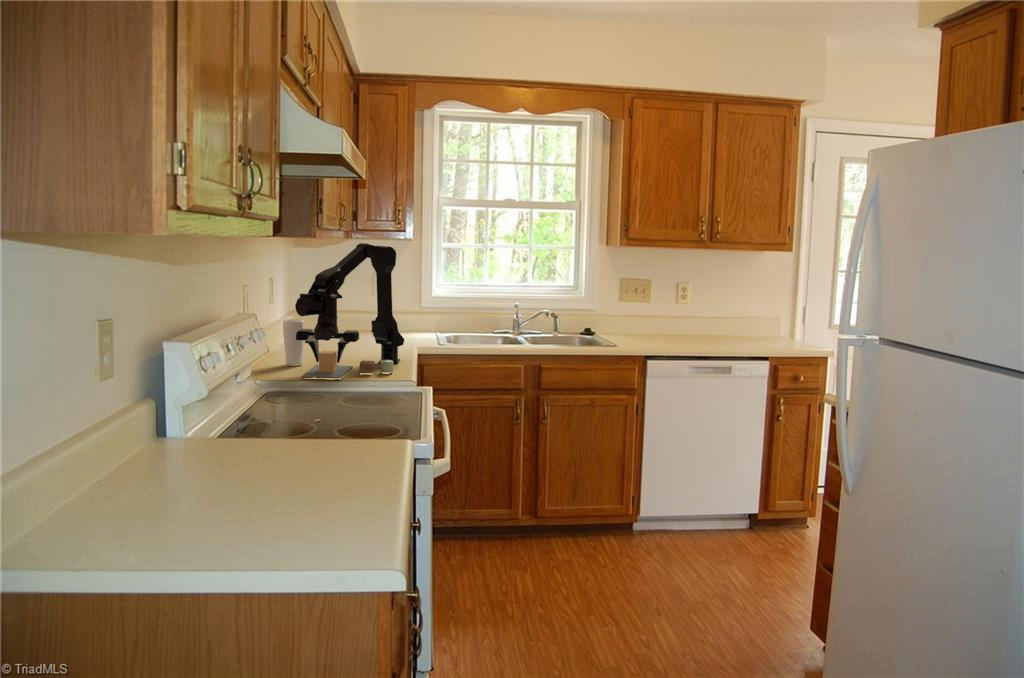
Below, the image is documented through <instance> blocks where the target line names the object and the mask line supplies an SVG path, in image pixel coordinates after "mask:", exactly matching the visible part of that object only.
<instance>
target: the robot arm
mask: <svg viewBox="0 0 1024 678" xmlns="http://www.w3.org/2000/svg"><path fill="white" fill-rule="evenodd" d="M367 258H368V259H370V261H371V262H370V263H371V266H372V267H373V270H374V271H375V274H376V275H375V277H376V304H377V305H376V306H377V314H376V315H377V316H376V317H375V319H374V320H371V323H370V324H371V333H372V336H373V337H374V341H375V344H376V345H377V344H378V345H380V347H381V349H380V360H378V364H381V361H382V360H392V361H393V365H394V364H395V365H397V364H399V362H401V359H400V358H399V347H401V346H403V345H404V343H405V338H404V336H403V335H402V334H401V333H400V332H399V327H398V323H397V320H396V318H395V317H394V314H393V290H392V289H393V288H392V284H393V283H392V272H393V271H394V269H395V266H396V265H397V264H396V263H397V251H396V249H395V248H394V247H392V246H389V245H387V246H385V245H373V244H371V243H366V242H364V243H363V242H360V243H358V244H356V246H355V248H354V249H352V250H351V251H350V252H349V253H348V254H346V256H345V257H343V258H342V259H341V260H339V262H338V263H336V264H335V265H334V266H332V267H329V268H326V269H324V270H322V271H321V272H319V273H317V274H316V275H315V277H314V281H313V282H312V285H311V286H310V287H309V289H308V292H307V293H300V294H299V297H298V299H296V302H295V305H294V306H295V310H296V313H297V315H299V316H300V317H308V316H316V315H317V323H316V325H315V327H314V329H311V328H304V329H301V330H299V331H298V332H297V333H296V340H304V344H308V345H309V347H310V348H311V351H312V353H313V356H314V358H315V361H316V363H319V353H320V350H319V348H320V347H319V345H320V344H319V341H325V342H327V341H330V340H331V339H334V340H335V339H336V340H337V339H338V340H339V341H338V342H337V364H339V363H340V361H341V358H342V355H343V352H344V350H345V348H346V346H347V345H348V344H350V343H356V342H357V341H359V340H360V333H359V331H358V330H345V331H344V332H339V327H338V299H343V295H342V294H340V293H339V292H338V291H339V290H340V289H341V287H342V286H343V285H344V283H345V279H346V278H347V277H348V276H349V274H351V273H352V272H353V271H354V270H356V268H357V267H358V266H360V265H361V264H362V263H363V262H364V261H365V260H366V259H367Z"/></svg>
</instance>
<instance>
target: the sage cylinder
mask: <svg viewBox="0 0 1024 678" xmlns="http://www.w3.org/2000/svg"><path fill="white" fill-rule="evenodd" d="M381 372H393V373H394V364H393V361H392V360H382V361H381V363H380V373H381Z"/></svg>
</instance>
